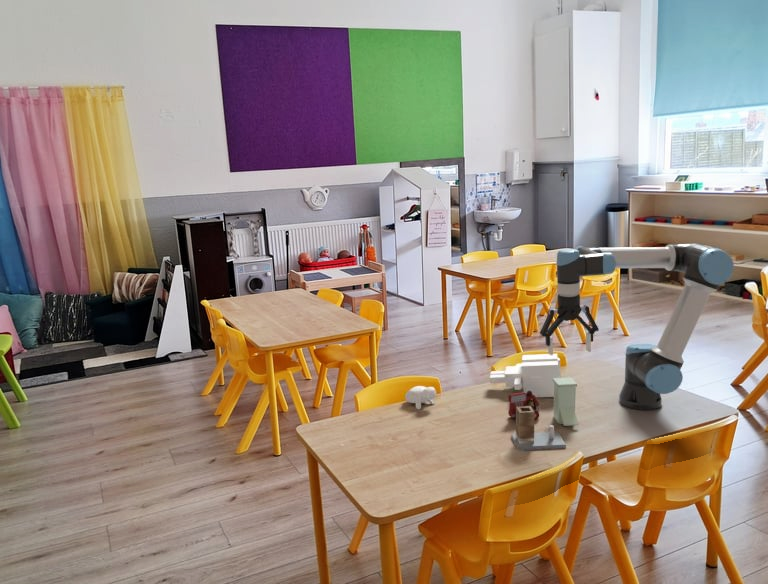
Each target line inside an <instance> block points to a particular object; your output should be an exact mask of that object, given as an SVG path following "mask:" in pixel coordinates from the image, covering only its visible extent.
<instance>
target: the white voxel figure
mask: <svg viewBox="0 0 768 584" xmlns="http://www.w3.org/2000/svg"><path fill="white" fill-rule="evenodd" d="M521 357H522V358H521V363H516V365H512V366H509V365H508V366H505V370H494V371H493V370H492V371H491V372H490V375H489V382H490V384H500V383H501V384H502V383H503V384H505V387H506V388H513V387H514V391H520V390H522V389H523V392H525V393H526V394H527V391H532V394H533V395H535V397H536V398H554V382H553V378H562V374H561V359H560V358H561V357H558V353H553V355H550V354H549V353H542V354H523V355H521ZM522 387H523V388H522Z"/></svg>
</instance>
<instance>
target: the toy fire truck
mask: <svg viewBox="0 0 768 584" xmlns="http://www.w3.org/2000/svg"><path fill="white" fill-rule="evenodd" d="M507 397H508V398H507V401H508V402H509V405H508V407H509V408H508V411H507V414H508V416H509V417H511V418H515V419H516V407H525V406H531V407H532V409H533V410H534V412H535V418H534V422H535V421H537V420H538V419H539V418H540V403H539V401H538V399H537V397H535V395H533V394H532V391H527V394H526V393H525V392H524V391H521V392H516V393H511V394H509V395H508V396H507Z"/></svg>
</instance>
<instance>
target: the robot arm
mask: <svg viewBox="0 0 768 584" xmlns="http://www.w3.org/2000/svg"><path fill="white" fill-rule="evenodd" d="M555 265H556V275H557V276H556V277H557V281H556V283H557V285H556V286H557V294H558V295H557V308H555V309H554V308H551V307H550V308H548V312H547V313H548V314H547V316H546V318H545V320H544V323H543V324H542V326H541V329H540V331H539V334H540V335H541V336H542V337H545V346H547V348H548V349H547V350H548V353H547V354H550V355H553V354H554V347H553V346H554V343H553V341H554V340H553V337H552V335H553V334H554V332H555V331H556V330H557V329H558V327H559V326H560V324H562V323H563V322H564V321H565V322H569V321H576V320H577V321H578V322H579V323H580V324H581V325H582V327H584V329H585V330H587V331H586V332H585V350H586V351H587V352H589V353H590V352H592V343H593V342H594V335H595V332H599V327H598V325H597V323H596V322H595V320H594V317H593V316H592V314H591V309H590V307H589V306H587V305H586V304H585V305H583V306H581V296H580V292H581V286H580V284H581V282H580V281H581V277H590V276H591V277H593V276H606V275H611V274H614V273H615V271H616V269H665V270H666V271H668V272H669V271H670V272H680V273H684V275H683V277H682V280H683V282H684V286H683V289H682V291H681V292H680V295H679V297H678V300H677V301H676V303H675V306H674V308H673V310H672V313H671V314H670V317H669V319H668V322H667V324H666V326H665V328H664V330H663V332H662V335H661V337H660V339H659V341H658V342H657V343H658V344H657V345H656V344H653V343H633V344H629V345H627V347H626V349H625V353H624V354H625V364H624V365H625V366H624V367H625V368H624V369H625V371H624V372H625V373H624V382H623V383H624V384H623V385H622V388H621V389H620V393H619V395H618V398H619V399H618V402H619V403H620V404H621V405H622V406H624V407H626V408H629V409H634V410H638V411H652V410H656V409H659V408H661V406H662V400H663V399H662V395H668V394H670V393H673V392H675V391H676V390H677V389H678V388H680V386H681V385H682V382H683V377H684V376H683V373H682V370H681V369H682V367H683V365H684V358H683V353H684V351H685V349H686V347H687V345H688V342H689V340H690V339H691V337H692V334H693V331H695V330H694V329H695V327H696V326H697V324H698V321H699V319H700V317H701V316H702V315H701V314H702V313H703V310H704V308H705V306H706V304H707V302H708V299H709V297H710V295H711V294H712V293H714V292H717V291H718V289H719V287H720V285H721V284H724V283H725V282H727V281H729V279H730V278H731V277H732V275H733V273H734V270H735V269H734V268H735V264H734V261H733V258H732V256H731V255H730V254H729V253H728V252H727V251H725V250H723V249H720V248H718V247H714V246H710V245H707V244H706V245H705V244H702V243H698V242H697V243H695V242H694V243H677V244H667V245H665V247H660V246H659V247H657V246H656V247H655V246H654V247H650V246H649V247H647V246H646V247H588V246H581V245H579V246H576V247H575V248H565V249H560V250H558V251H557V253H556V264H555ZM581 312H582V313H584V315H585V316H586V319H587V320H588V322H589V324H590V325H589V324H588V323H587V322H586V321H585V320H584V319H583V318H582V317H581V316H580V314H581ZM556 314H557V316H556ZM555 316H556V318H555V320H554V321H553V319H554V317H555Z"/></svg>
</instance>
